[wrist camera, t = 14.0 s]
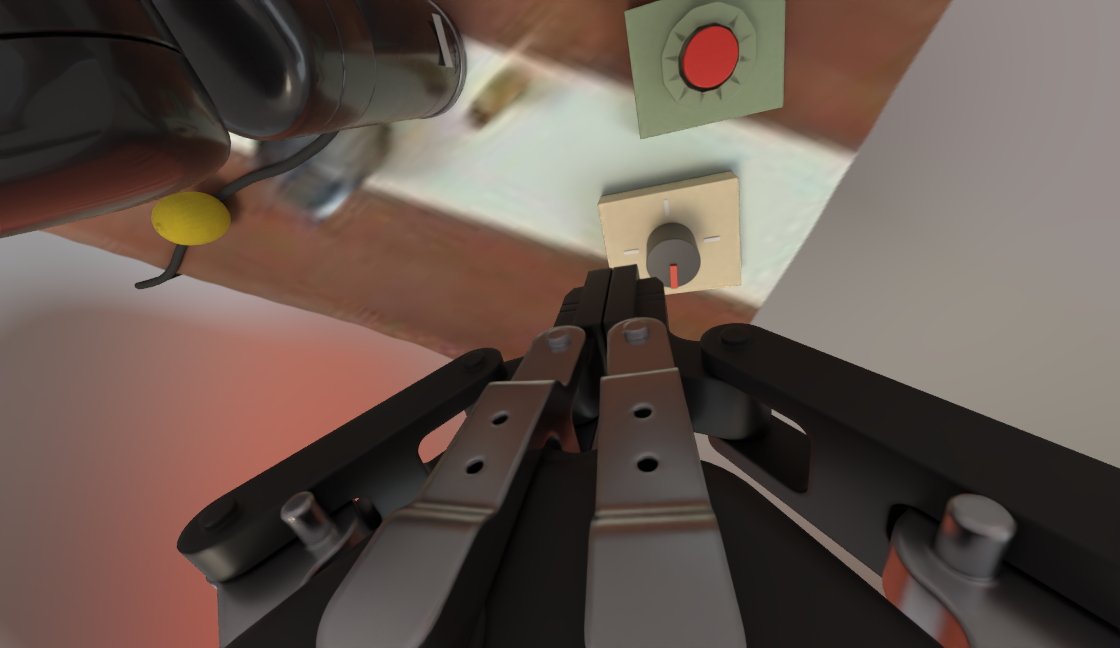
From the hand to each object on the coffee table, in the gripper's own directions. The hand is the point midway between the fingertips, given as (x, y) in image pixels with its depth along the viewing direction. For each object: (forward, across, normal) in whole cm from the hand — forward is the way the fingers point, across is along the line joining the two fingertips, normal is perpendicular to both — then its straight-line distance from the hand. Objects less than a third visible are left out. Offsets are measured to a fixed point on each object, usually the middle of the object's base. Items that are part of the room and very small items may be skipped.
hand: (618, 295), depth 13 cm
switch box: (+29, -6, -6) cm, 30 cm away
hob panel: (+29, -2, +8) cm, 30 cm away
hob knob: (+26, -2, +8) cm, 27 cm away
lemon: (+29, +48, -4) cm, 56 cm away
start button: (+25, -6, -6) cm, 27 cm away
